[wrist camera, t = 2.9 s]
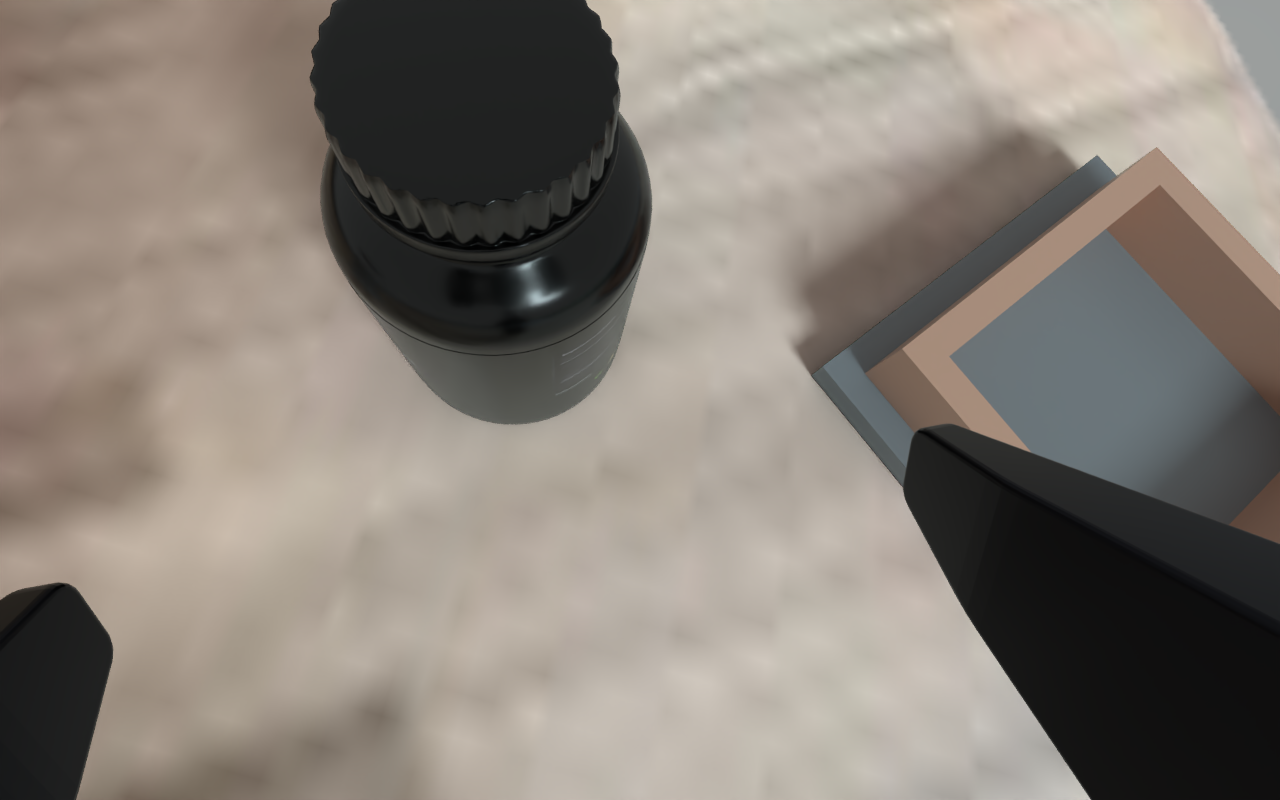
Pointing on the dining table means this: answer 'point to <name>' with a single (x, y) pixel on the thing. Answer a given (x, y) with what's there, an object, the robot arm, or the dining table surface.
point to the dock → (1095, 347)
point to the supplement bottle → (484, 193)
